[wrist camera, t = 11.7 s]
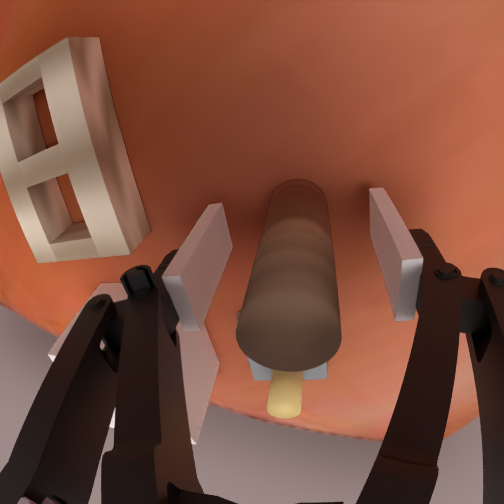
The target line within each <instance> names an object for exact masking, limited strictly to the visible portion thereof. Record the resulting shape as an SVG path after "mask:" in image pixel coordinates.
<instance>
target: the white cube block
mask: <svg viewBox="0 0 504 504" xmlns="http://www.w3.org/2000/svg"><path fill="white" fill-rule="evenodd" d="M100 294H108V295H110V296H111V298H112V300H113V302H117V301H121V300H125V299H127V298H128V295H127V293H126V291H125V289H124V287H123V285H122V283H100V285H99V286H98V287H97V288H96V290H95V291H94V292H93V293H92V295H91V296H90V297H89V299H88V300H87V301H86V302H85V304H86V303H87V302H88V301H89V300H90V299H92V297H94V296H96V295H100ZM85 304H84V305H83V306H82V308H81V309H80V310H79V312H78V313H77V314H76V315H75V317H74V318H73V319H72V321H71V322H70V324H69V325H68V326H67V328H66V329H65V330H64V332H63V333H62V334H61V336H60V337H59V339H58V340H57V341H56V343H55V344H54V346H53V347H52V349H51V350H50V351H49V353H48V356H49V357H50V358H51V360H52V361H54V359H55V357H56V356H57V354H58V352H59V350H60V348H61V346H62V344H63V343H64V341H65V339H66V337H67V335H68V334H69V332H70V330H71V328H72V326H73V325H74V323H75V321H76V320H77V318H78V316H79V314H80V313H81V311H82V309H83V308H84V306H85ZM176 329H177V331H178V334H179V339H180V351H181V361H182V371H183V381H184V390H185V398H186V407H187V414H188V422H189V429H190V436H191V443H192V444H197V441H198V438H199V434H200V430H201V427H202V424H203V420H204V417H205V413H206V410H207V407H208V403H209V400H210V396H211V393H212V389H213V386H214V382H215V379H216V376H217V372H218V369H219V365H220V362H219V360H218V357H217V355H216V352H215V350H214V347H213V345H212V342H211V339H210V337H209V334H208V332H207V329H206V326H205V324H204V323H203V326H202V328H201V331H189V330H183V328H182V325H181V323H180V321H179V322H178V324H177V326H176ZM104 346H105V345H104V343H103V342H102V340H101V343H100V348H101V349H102V350H103V348H104ZM114 426H115V410H114V413H113V416H112V420H111V423H110V426H109V427H112V428H114Z"/></svg>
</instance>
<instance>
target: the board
mask: <svg viewBox="0 0 504 504" xmlns="http://www.w3.org/2000/svg"><path fill="white" fill-rule="evenodd" d="M240 313H241V311H239V314H238V318H237V324H238V320H239V317H240ZM247 357H248V356H247ZM248 361H249V364H250V367H251V370H252V374H253V377H254V380H271V383H270V390H269V397H268V403H267V412H268V413H269V414H270V415H272V416H274V417H277V418H293V417H296V416H298V415H299V414H300V412H301V401H302V387H303V380H314V379H327V362H326V363H324V364H322V365H320V366H318V367H316V368H313V369H309V370H305V371H297V372H286V371H278V370H273V369H270V368H267V367H264V366H262V365H260V364H258V363H256V362H254V361H253V360H251V359H250V358H249V357H248Z"/></svg>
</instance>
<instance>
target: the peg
mask: <svg viewBox="0 0 504 504" xmlns="http://www.w3.org/2000/svg"><path fill="white" fill-rule="evenodd" d="M236 339H237V342H238V345H239V347H240V348H241V350H242V351H243V352H244V354H245V355H247V356H248V357H249V358H250V359H251V360H253V361H254V362H256V363H258V364H260V365H262V366H264V367H267V368H270V369H273V370H278V371H286V372H297V371H305V370H309V369H313V368H316V367H318V366H320V365H322V364H324V363H326V362H327V361H328V360H330V359H331V358H332V357H333V356H334V355H335V354H336V352H337V351H338V349H339V347H340V344H341V324H340V311H339V300H338V289H337V280H336V270H335V261H334V253H333V244H332V237H331V229H330V222H329V214H328V208H327V201H326V197H325V195H324V193H323V192H322V190H321V189H320V188H319V187H318V186H317V185H315V184H314V183H312V182H310V181H307V180H303V179H294V180H289V181H286V182H284V183H283V184H281V185H280V186H279V187H278V188H277V189H276V190H275V191H274V193H273V195H272V197H271V201H270V204H269V208H268V212H267V216H266V220H265V223H264V227H263V231H262V235H261V238H260V242H259V246H258V250H257V253H256V257H255V261H254V265H253V268H252V272H251V276H250V280H249V283H248V287H247V291H246V294H245V298H244V302H243V306H242V309H241V313H240V317H239V320H238V324H237V328H236Z"/></svg>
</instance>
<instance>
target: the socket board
mask: <svg viewBox="0 0 504 504" xmlns="http://www.w3.org/2000/svg"><path fill="white" fill-rule="evenodd" d="M42 89H45V94H46V98H47V102H48V106H49V110H50V114H51V118H52V122H53V126H54V129H55V133H56V137H57V140H58V144H56V145H54V146H52V147H49V148H46V144H45V141H44V137H43V134H42V130H41V127H40V123H39V119H38V115H37V111H36V107H35V103H34V98H33V95H34V94H35V93H37V92H39V91H40V90H42ZM0 172H1V175H2V178H3V181H4V184H5V187H6V189H7V192H8V195H9V198H10V200H11V203H12V206H13V208H14V211H15V213H16V216H17V218H18V220H19V223H20V225H21V228H22V230H23V232H24V234H25V237H26V239H27V241H28V243H29V245H30V248H31V250H32V252H33V254H34V256H35V258H36V260H37V262H38V263H48V262H58V261H68V260H79V259H89V258H100V257H111V256H122V255H131V254H132V253H133V251H134V250H135V249H136V248H137V247H138V245H139V244H140V243H141V242H142V241H143V239H144V238H145V237H146V236H147V235H148V233H149V232H150V231H151V228H150V225H149V222H148V219H147V216H146V213H145V210H144V207H143V204H142V201H141V198H140V195H139V192H138V189H137V185H136V182H135V179H134V176H133V172H132V169H131V166H130V162H129V159H128V155H127V152H126V148H125V145H124V141H123V138H122V134H121V130H120V127H119V123H118V119H117V115H116V111H115V107H114V103H113V99H112V95H111V91H110V87H109V82H108V78H107V73H106V69H105V64H104V59H103V55H102V50H101V45H100V39H99V37H66V38H65V39H63V40H61V41H60V42H58V43H56V44H55V45H53V46H52V47H50V48H49V49H47V50H45V51H44V52H42V53H41V54H39V55H38V56H36V57H35V58H33V59H32V60H31V61H29V62H28V63H26V64H25V65H23V66H22V67H21V68H19V69H18V70H17V71H15V72H14V73H13V74H11V75H10V76H9V77H7V78H6V79H5V80H4V81H2V82H1V83H0ZM67 173H68V175H69V178H70V181H71V184H72V187H73V190H74V193H75V196H76V198H77V201H78V204H79V206H80V209H81V212H82V214H83V217H84V220H85V221H84V222H79V223H74V224H73V222H72V219H71V217H70V214H69V212H68V209H67V207H66V204H65V201H64V199H63V196H62V193H61V190H60V188H59V185H58V182H57V179H56V177H58V176H61V175H64V174H67Z"/></svg>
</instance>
